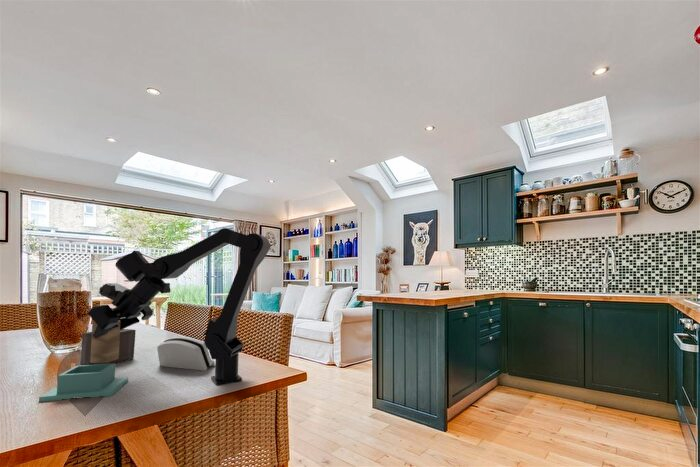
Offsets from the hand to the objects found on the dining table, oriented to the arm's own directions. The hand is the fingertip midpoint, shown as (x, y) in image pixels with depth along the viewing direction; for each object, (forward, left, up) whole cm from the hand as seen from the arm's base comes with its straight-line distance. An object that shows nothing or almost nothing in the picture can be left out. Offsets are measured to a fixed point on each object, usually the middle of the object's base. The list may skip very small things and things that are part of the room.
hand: (101, 335), depth 97 cm
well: (-11, +2, -11) cm, 16 cm away
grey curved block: (-1, -21, -11) cm, 24 cm away
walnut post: (-1, -1, -7) cm, 7 cm away
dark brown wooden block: (+17, -3, -11) cm, 21 cm away
